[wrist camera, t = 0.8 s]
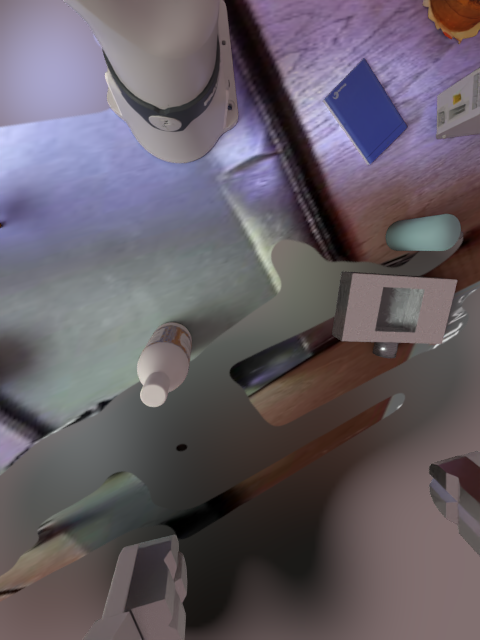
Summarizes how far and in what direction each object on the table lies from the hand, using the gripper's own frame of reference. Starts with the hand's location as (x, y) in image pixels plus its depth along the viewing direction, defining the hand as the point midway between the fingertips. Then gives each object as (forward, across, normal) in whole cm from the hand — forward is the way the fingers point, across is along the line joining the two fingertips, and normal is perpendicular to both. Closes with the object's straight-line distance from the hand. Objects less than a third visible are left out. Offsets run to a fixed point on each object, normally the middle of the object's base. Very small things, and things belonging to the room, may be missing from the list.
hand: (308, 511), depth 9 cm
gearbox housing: (+43, -30, +11) cm, 53 cm away
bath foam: (+43, +10, +6) cm, 45 cm away
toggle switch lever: (+43, -34, -3) cm, 55 cm away
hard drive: (+44, -29, -23) cm, 57 cm away
